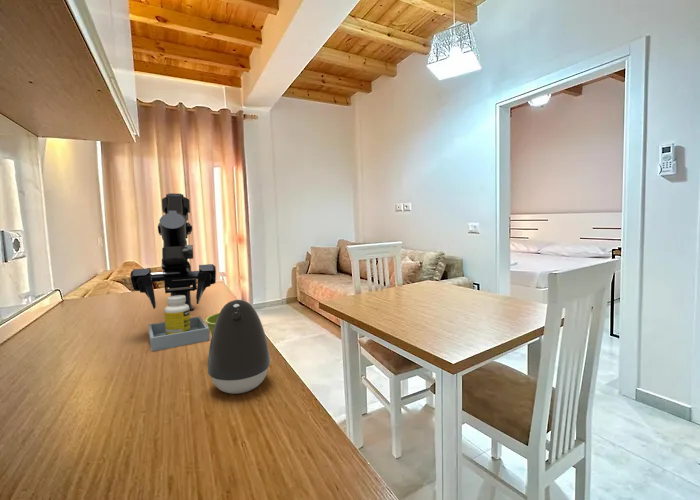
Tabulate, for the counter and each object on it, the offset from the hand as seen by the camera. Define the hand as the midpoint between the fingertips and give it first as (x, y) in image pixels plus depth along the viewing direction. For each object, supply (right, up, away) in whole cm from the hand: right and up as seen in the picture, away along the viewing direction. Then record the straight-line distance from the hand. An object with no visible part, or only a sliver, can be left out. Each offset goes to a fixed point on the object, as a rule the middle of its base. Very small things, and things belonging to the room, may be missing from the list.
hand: (176, 305), depth 80 cm
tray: (-1, -8, +2) cm, 9 cm away
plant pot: (+17, -9, -9) cm, 21 cm away
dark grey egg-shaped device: (+23, -11, -22) cm, 33 cm away
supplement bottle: (-1, -8, +2) cm, 8 cm away
